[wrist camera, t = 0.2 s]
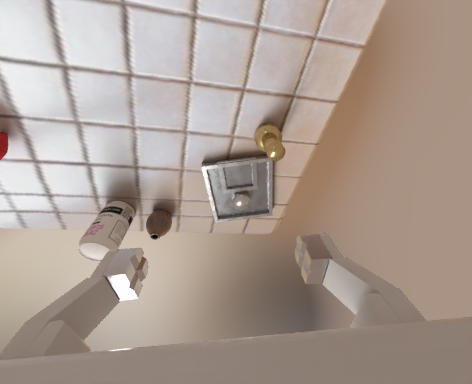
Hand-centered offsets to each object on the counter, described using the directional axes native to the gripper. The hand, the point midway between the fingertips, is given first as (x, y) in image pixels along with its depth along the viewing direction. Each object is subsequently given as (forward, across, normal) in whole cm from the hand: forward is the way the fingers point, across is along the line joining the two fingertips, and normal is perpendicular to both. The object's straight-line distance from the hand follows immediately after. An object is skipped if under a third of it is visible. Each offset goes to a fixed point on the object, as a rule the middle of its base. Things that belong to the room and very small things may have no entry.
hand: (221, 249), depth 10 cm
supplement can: (+42, +32, +25) cm, 58 cm away
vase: (+42, +21, +28) cm, 54 cm away
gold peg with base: (+40, -10, +5) cm, 41 cm away
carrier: (+41, -4, +20) cm, 46 cm away
